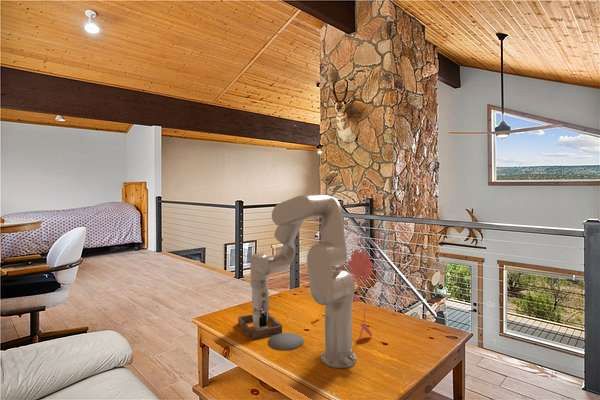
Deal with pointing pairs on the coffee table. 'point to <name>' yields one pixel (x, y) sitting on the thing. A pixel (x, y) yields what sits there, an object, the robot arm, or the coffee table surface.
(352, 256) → the figurine
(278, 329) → the brown rectangular frame
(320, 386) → the coffee table surface
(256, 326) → the white cylinder
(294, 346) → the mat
